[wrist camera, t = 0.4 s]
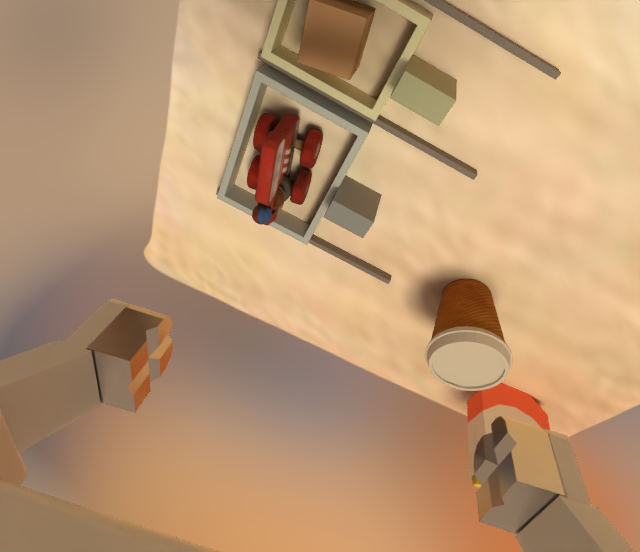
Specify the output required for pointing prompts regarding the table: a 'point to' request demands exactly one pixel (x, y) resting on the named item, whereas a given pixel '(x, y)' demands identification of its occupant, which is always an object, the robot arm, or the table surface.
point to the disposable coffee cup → (468, 339)
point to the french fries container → (496, 404)
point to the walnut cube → (335, 36)
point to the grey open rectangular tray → (344, 193)
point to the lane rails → (412, 139)
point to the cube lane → (405, 79)
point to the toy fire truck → (280, 165)
